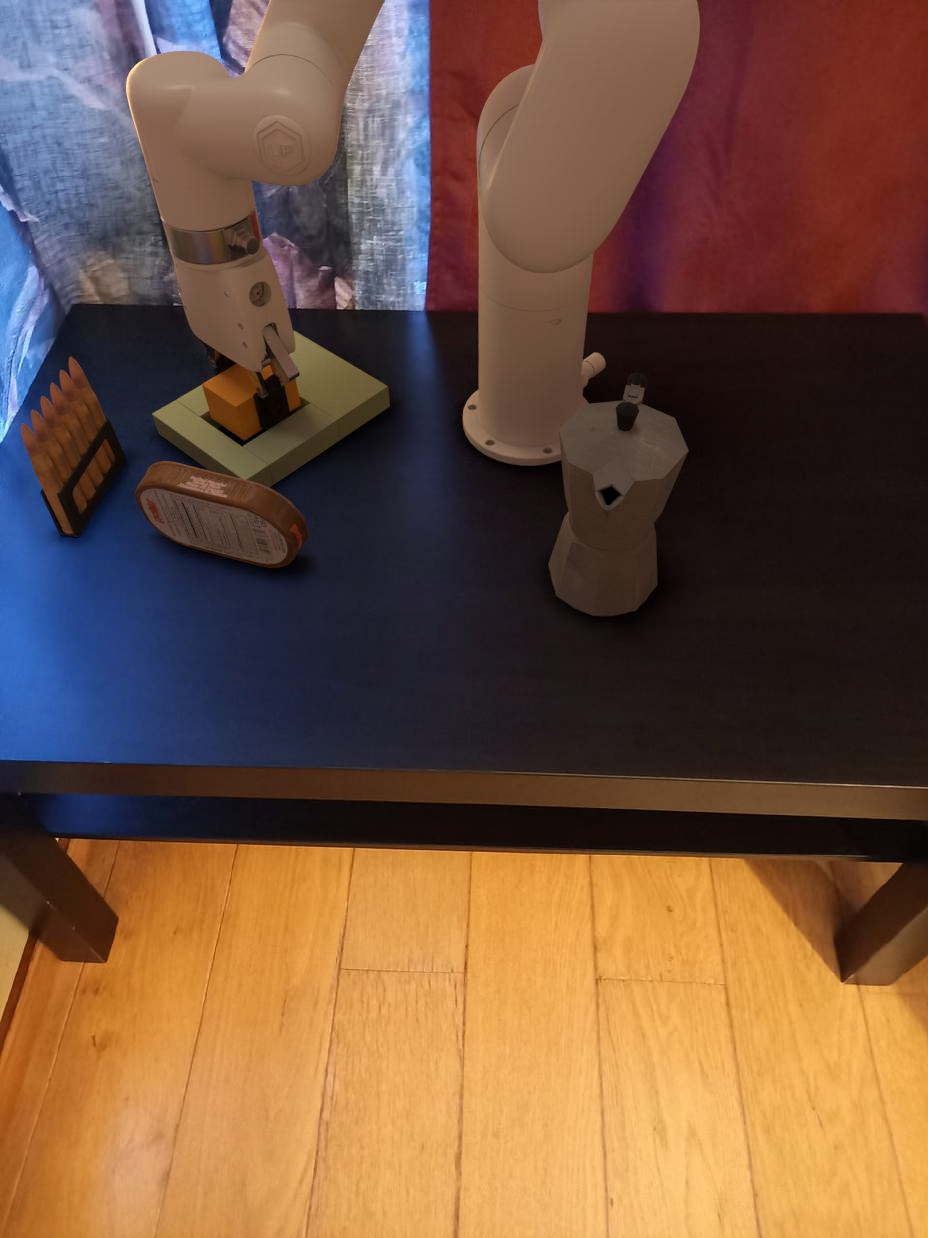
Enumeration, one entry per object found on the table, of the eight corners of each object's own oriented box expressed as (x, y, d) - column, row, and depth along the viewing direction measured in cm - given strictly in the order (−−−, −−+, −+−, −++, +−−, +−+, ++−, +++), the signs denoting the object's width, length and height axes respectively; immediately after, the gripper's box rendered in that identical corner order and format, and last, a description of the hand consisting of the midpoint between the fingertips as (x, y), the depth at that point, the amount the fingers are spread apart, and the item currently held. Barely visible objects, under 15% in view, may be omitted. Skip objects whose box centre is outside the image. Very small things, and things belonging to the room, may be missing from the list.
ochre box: (244, 441, 88) (235, 406, 84) (211, 418, 90) (201, 383, 87) (301, 405, 91) (294, 370, 88) (267, 383, 93) (260, 349, 90)
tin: (316, 557, 81) (301, 486, 75) (300, 584, 80) (284, 513, 73) (164, 518, 85) (137, 446, 78) (145, 543, 83) (116, 471, 76)
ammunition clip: (78, 538, 83) (27, 432, 74) (59, 535, 83) (6, 430, 74) (126, 457, 90) (85, 351, 80) (108, 455, 90) (65, 349, 81)
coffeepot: (646, 648, 75) (684, 481, 61) (530, 625, 76) (541, 457, 62) (670, 514, 84) (709, 342, 70) (567, 496, 86) (583, 325, 72)
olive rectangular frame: (297, 350, 100) (294, 330, 98) (390, 406, 94) (388, 386, 92) (158, 433, 92) (151, 413, 90) (250, 500, 86) (244, 480, 84)
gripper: (318, 247, 74) (345, 428, 88) (186, 178, 81) (231, 355, 95) (244, 287, 70) (284, 469, 85) (113, 212, 78) (171, 391, 92)
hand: (256, 407), depth 90 cm, fingers closed on ochre box, 5 cm apart
